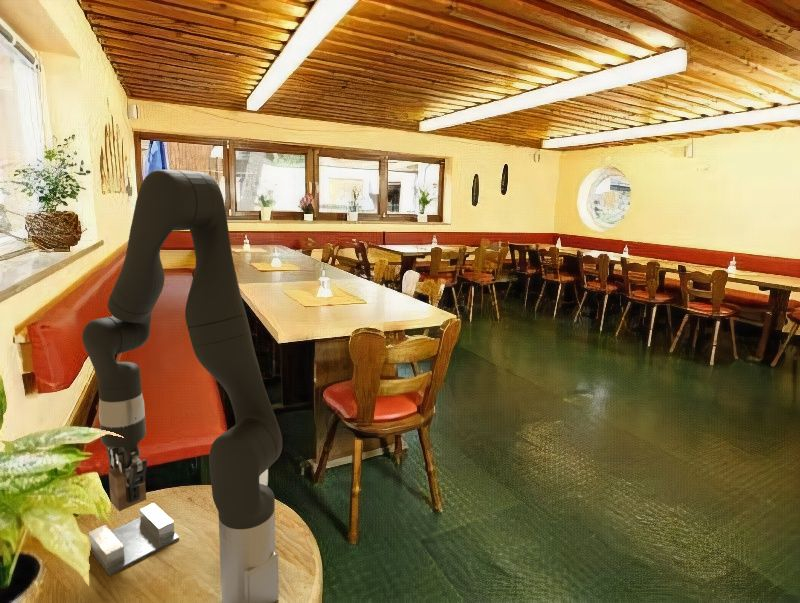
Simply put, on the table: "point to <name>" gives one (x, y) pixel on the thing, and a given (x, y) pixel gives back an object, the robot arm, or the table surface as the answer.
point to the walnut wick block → (122, 490)
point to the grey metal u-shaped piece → (132, 539)
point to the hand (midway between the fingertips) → (128, 495)
